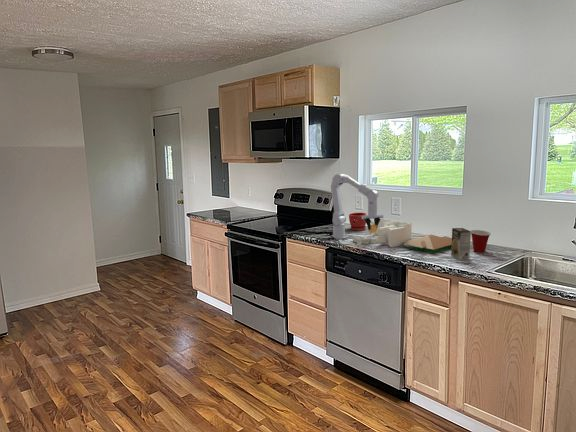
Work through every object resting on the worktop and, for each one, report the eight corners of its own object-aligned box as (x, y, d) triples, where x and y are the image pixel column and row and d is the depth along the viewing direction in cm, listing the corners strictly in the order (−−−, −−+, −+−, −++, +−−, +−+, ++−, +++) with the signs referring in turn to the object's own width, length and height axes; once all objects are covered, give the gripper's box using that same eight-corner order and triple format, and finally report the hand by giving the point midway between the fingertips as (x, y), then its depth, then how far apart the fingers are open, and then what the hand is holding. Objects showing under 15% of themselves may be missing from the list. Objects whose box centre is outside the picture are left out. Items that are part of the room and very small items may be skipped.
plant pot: (353, 227, 325) (353, 211, 323) (369, 228, 318) (369, 213, 316) (345, 230, 315) (345, 214, 313) (361, 231, 307) (361, 215, 305)
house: (398, 248, 257) (398, 235, 256) (430, 240, 277) (430, 228, 276) (430, 256, 239) (431, 242, 238) (462, 246, 259) (463, 233, 258)
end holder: (363, 240, 280) (363, 236, 280) (376, 239, 282) (376, 235, 281) (369, 243, 271) (369, 239, 271) (382, 242, 273) (382, 238, 273)
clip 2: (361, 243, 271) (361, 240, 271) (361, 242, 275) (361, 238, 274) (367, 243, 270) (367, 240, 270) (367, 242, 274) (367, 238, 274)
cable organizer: (389, 248, 257) (389, 230, 255) (377, 245, 266) (377, 227, 264) (406, 245, 265) (406, 227, 263) (394, 242, 274) (394, 224, 272)
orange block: (367, 231, 280) (367, 223, 279) (372, 230, 281) (372, 223, 280) (370, 233, 274) (370, 225, 273) (376, 232, 275) (376, 225, 274)
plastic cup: (486, 255, 236) (487, 234, 234) (466, 252, 243) (467, 232, 241) (492, 251, 244) (493, 231, 242) (473, 248, 251) (474, 229, 249)
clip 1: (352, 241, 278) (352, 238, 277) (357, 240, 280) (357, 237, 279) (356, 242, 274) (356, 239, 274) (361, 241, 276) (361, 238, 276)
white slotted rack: (411, 239, 280) (411, 223, 279) (401, 242, 274) (401, 225, 272) (381, 233, 300) (381, 218, 298) (371, 236, 293) (371, 220, 291)
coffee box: (450, 256, 236) (451, 228, 234) (461, 255, 237) (462, 227, 234) (458, 260, 227) (459, 231, 225) (469, 259, 228) (471, 230, 225)
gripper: (364, 210, 269) (364, 231, 271) (385, 209, 271) (385, 229, 274) (360, 208, 275) (360, 229, 278) (380, 207, 278) (380, 227, 281)
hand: (372, 229), depth 276 cm, fingers closed on orange block, 4 cm apart
